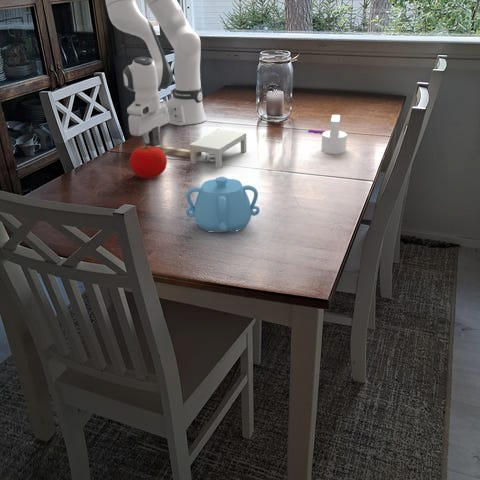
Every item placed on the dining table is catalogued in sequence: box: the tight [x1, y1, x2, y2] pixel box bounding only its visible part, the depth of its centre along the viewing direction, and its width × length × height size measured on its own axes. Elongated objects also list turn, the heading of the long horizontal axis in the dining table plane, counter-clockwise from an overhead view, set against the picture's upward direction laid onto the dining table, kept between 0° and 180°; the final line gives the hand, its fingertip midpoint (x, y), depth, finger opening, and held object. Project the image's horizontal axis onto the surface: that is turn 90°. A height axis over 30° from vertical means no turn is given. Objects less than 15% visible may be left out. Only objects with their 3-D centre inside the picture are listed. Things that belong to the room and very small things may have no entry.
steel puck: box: [206, 154, 216, 164], centre depth 185 cm, size 5×5×2 cm
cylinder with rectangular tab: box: [321, 114, 348, 155], centre depth 190 cm, size 9×9×12 cm
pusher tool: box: [144, 126, 203, 159], centre depth 191 cm, size 22×6×9 cm, turn 62°
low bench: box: [189, 128, 247, 169], centre depth 187 cm, size 12×20×7 cm, turn 152°
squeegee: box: [308, 129, 326, 134], centre depth 210 cm, size 29×2×10 cm
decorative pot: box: [185, 176, 261, 233], centre depth 138 cm, size 16×16×14 cm
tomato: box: [129, 145, 168, 179], centre depth 171 cm, size 11×12×10 cm
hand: (152, 140), depth 195 cm, fingers closed on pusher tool, 3 cm apart
